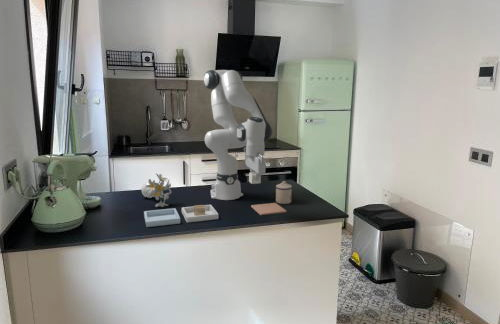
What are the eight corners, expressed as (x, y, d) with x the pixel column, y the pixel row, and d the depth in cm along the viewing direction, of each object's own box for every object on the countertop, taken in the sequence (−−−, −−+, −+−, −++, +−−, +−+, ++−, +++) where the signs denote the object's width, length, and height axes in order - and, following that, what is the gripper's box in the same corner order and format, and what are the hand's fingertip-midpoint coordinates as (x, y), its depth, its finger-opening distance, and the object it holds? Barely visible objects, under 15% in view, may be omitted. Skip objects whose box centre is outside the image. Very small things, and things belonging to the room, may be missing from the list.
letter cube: (249, 181, 183) (249, 172, 182) (257, 180, 184) (257, 172, 183) (251, 183, 178) (252, 174, 178) (260, 183, 180) (260, 174, 179)
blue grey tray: (144, 217, 178) (144, 211, 177) (175, 213, 183) (175, 208, 182) (146, 228, 164) (146, 222, 164) (180, 224, 169) (180, 218, 169)
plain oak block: (194, 214, 181) (193, 205, 180) (203, 213, 182) (202, 204, 181) (195, 217, 177) (195, 208, 176) (205, 216, 178) (205, 207, 177)
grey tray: (181, 213, 184) (181, 207, 183) (211, 210, 189) (210, 204, 188) (186, 223, 170) (186, 217, 170) (218, 220, 175) (218, 214, 174)
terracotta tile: (251, 206, 195) (251, 205, 195) (275, 204, 200) (275, 202, 199) (260, 215, 182) (260, 213, 182) (286, 212, 187) (286, 210, 187)
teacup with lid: (294, 203, 201) (294, 182, 198) (278, 204, 198) (279, 184, 196) (286, 197, 212) (286, 177, 210) (271, 198, 210) (271, 178, 207)
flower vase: (143, 210, 209) (157, 211, 188) (133, 179, 207) (145, 176, 186) (164, 202, 216) (180, 202, 195) (154, 172, 214) (169, 169, 193)
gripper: (269, 154, 169) (268, 183, 172) (254, 147, 188) (254, 173, 191) (256, 155, 167) (255, 184, 170) (242, 147, 186) (242, 174, 189)
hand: (254, 178), depth 181 cm, fingers closed on letter cube, 4 cm apart
